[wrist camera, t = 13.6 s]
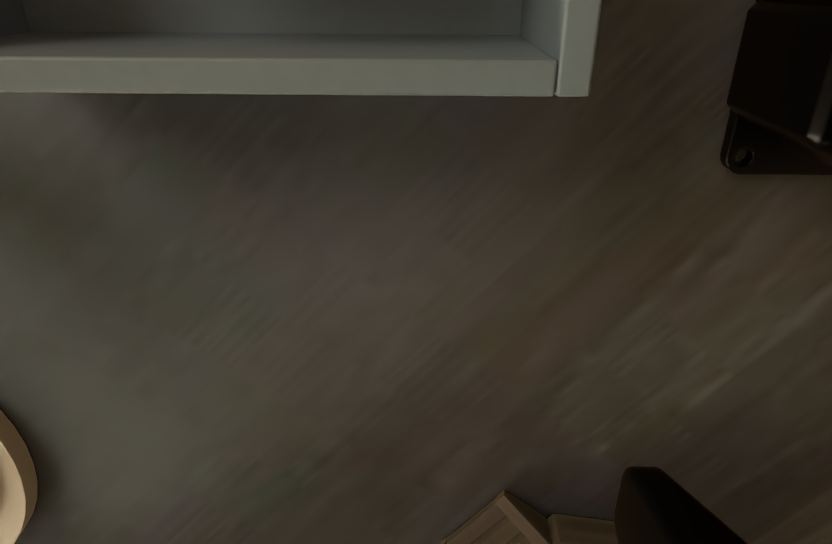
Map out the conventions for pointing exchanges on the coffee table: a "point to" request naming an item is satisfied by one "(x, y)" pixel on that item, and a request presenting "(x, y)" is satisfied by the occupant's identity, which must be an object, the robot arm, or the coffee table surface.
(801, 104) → the robot arm
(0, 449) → the monster figurine
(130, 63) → the bin
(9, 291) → the coffee table surface
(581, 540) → the model
